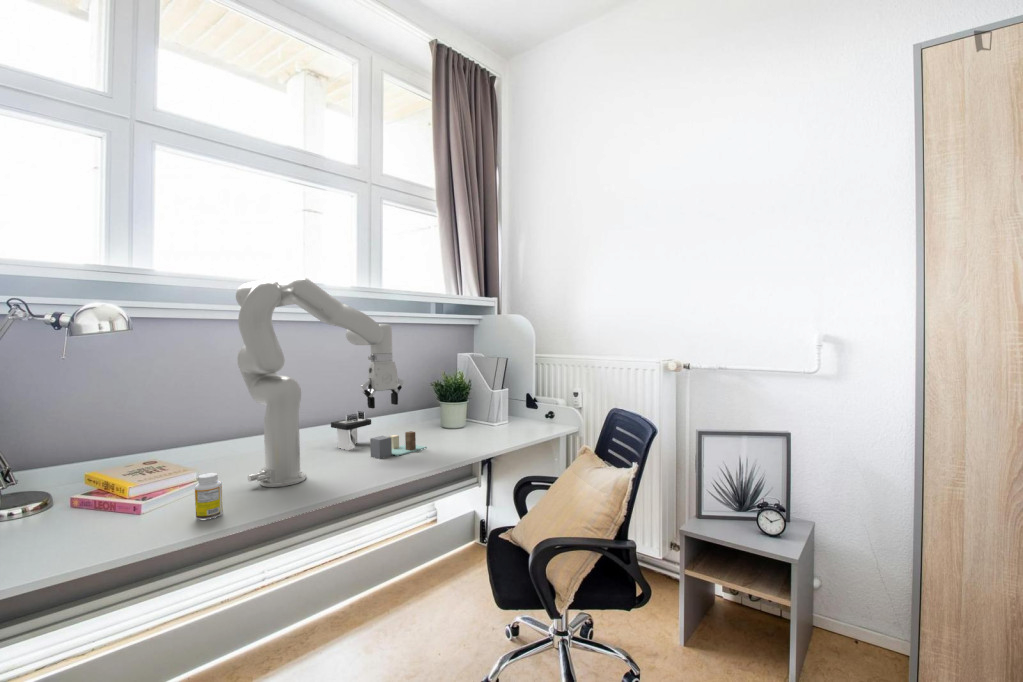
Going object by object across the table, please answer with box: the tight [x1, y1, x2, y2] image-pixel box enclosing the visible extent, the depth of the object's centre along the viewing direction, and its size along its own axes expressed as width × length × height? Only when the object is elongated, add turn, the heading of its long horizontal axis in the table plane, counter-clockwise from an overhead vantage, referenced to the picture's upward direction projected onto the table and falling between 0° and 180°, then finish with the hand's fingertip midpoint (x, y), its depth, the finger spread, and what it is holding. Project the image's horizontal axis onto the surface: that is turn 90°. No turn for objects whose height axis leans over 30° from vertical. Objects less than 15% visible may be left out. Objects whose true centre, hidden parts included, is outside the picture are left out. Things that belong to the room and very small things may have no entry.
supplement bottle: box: [194, 472, 224, 520], centre depth 117 cm, size 6×6×10 cm
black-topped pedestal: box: [330, 410, 372, 451], centre depth 187 cm, size 28×26×13 cm
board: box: [388, 434, 428, 457], centre depth 180 cm, size 14×10×5 cm
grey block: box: [369, 435, 393, 459], centre depth 172 cm, size 5×5×7 cm
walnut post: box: [404, 431, 417, 451], centre depth 179 cm, size 3×3×6 cm
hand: (383, 406), depth 173 cm, fingers open, 9 cm apart
